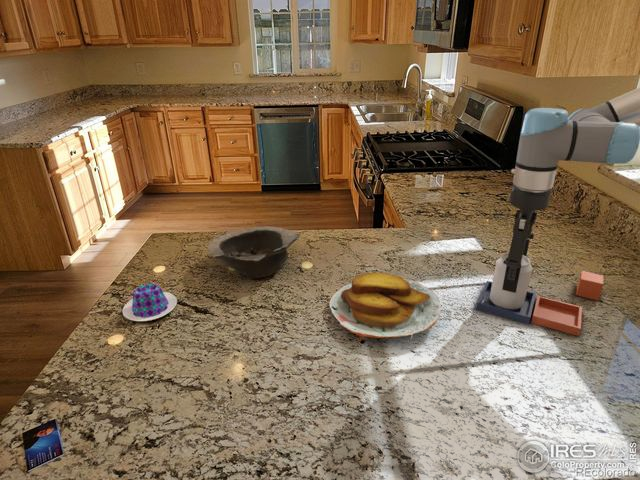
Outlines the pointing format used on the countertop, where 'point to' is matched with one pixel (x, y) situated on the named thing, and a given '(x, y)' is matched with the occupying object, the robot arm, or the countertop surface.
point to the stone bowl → (253, 250)
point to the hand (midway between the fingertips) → (513, 276)
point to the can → (505, 297)
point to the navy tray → (516, 315)
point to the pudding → (149, 303)
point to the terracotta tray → (557, 315)
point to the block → (589, 285)
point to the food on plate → (385, 306)
